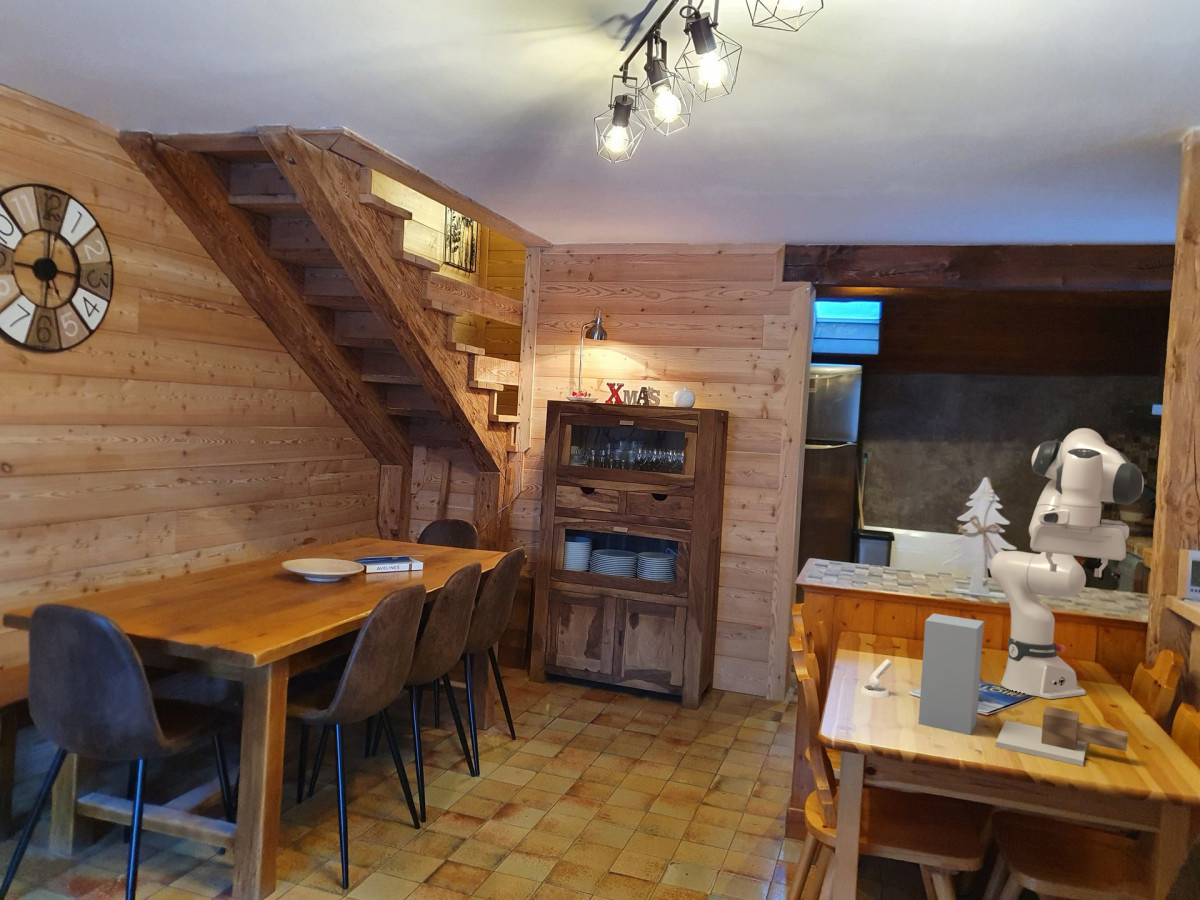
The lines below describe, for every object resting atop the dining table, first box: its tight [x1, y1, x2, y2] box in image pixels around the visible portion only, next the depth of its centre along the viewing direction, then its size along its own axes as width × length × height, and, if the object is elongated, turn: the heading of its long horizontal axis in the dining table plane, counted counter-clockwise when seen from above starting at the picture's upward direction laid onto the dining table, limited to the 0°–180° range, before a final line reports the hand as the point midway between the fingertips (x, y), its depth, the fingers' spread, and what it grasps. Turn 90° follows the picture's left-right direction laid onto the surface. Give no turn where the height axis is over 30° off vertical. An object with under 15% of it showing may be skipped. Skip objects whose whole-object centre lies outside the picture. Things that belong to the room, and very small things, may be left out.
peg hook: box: [1041, 705, 1129, 752], centre depth 204 cm, size 17×7×7 cm, turn 58°
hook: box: [860, 658, 893, 699], centre depth 240 cm, size 8×12×7 cm
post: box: [918, 612, 985, 736], centre depth 219 cm, size 12×10×26 cm
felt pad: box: [995, 720, 1088, 767], centre depth 208 cm, size 18×18×1 cm
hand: (1075, 573), depth 211 cm, fingers open, 8 cm apart
